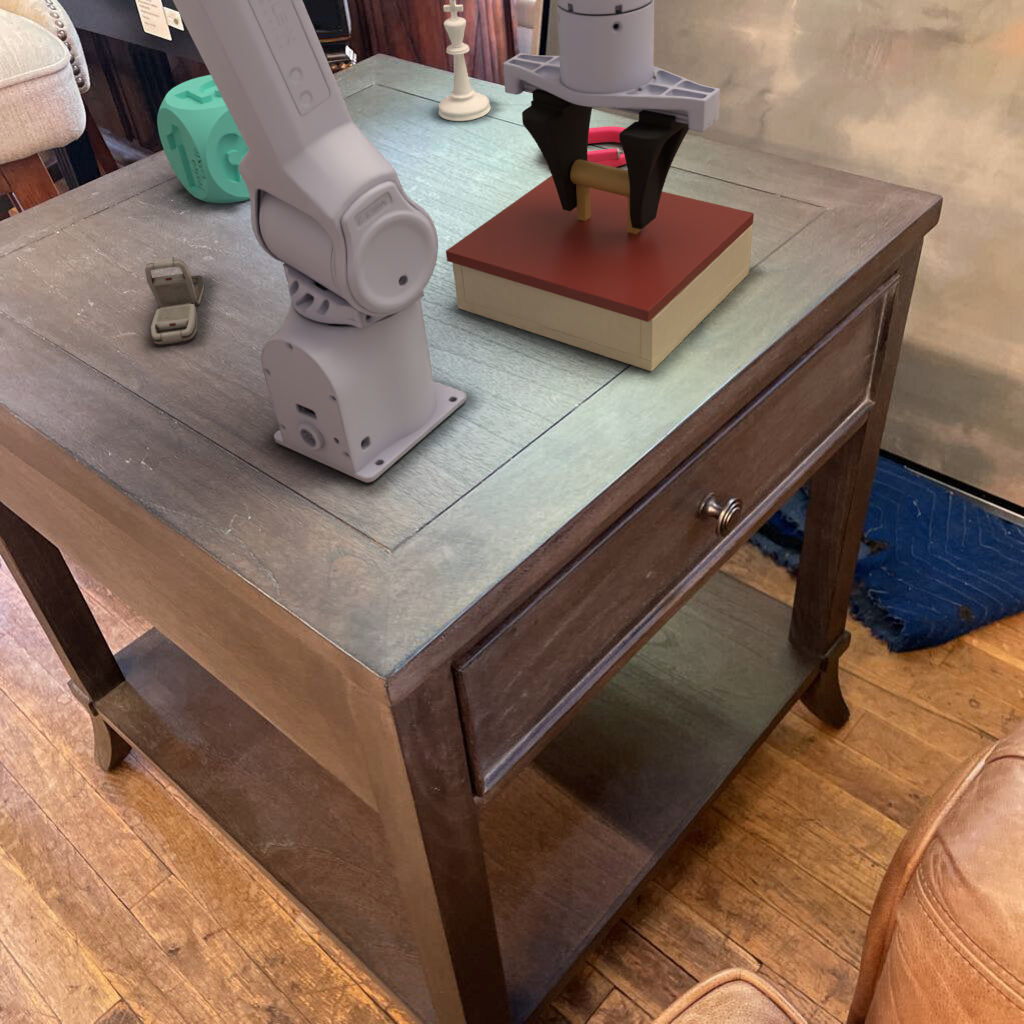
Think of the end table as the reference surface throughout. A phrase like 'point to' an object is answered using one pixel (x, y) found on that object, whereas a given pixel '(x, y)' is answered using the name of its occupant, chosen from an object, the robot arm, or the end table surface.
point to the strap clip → (174, 302)
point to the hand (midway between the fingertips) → (609, 213)
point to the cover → (602, 243)
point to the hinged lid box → (603, 326)
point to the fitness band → (608, 155)
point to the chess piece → (460, 74)
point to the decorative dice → (203, 141)
